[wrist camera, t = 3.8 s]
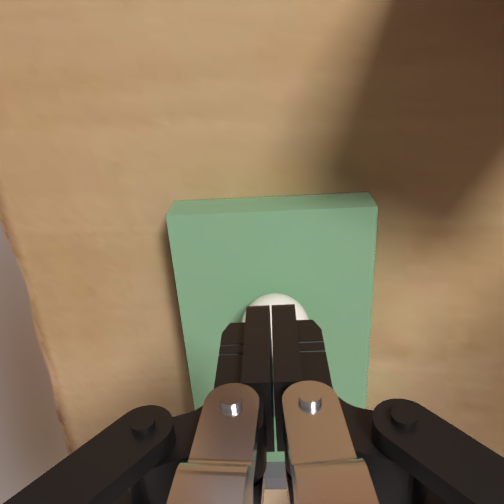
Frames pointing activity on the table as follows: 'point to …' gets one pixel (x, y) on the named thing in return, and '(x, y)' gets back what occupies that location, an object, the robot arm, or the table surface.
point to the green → (277, 280)
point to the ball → (278, 300)
